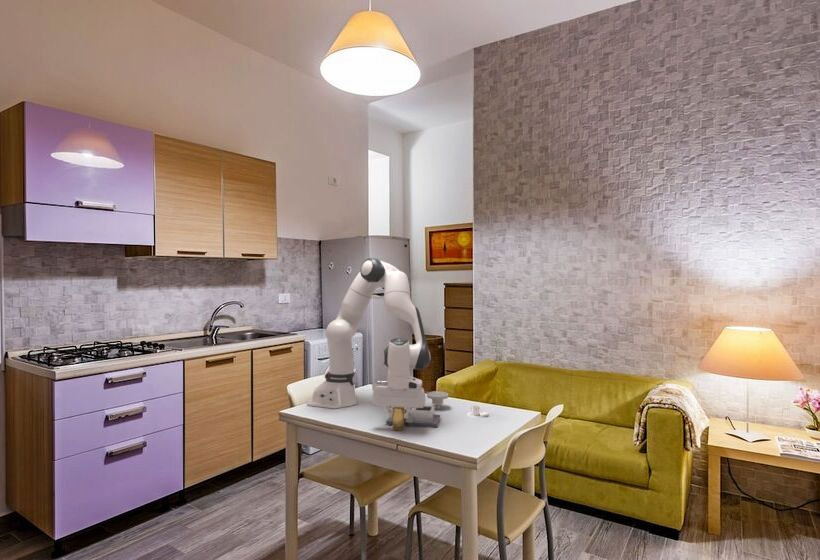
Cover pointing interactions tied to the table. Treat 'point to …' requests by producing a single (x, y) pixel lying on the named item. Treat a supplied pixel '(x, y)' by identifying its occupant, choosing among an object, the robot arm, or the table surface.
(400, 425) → the cylinder
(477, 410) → the teacup and saucer
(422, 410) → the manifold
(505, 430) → the table surface
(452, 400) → the table surface
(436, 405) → the showerhead
